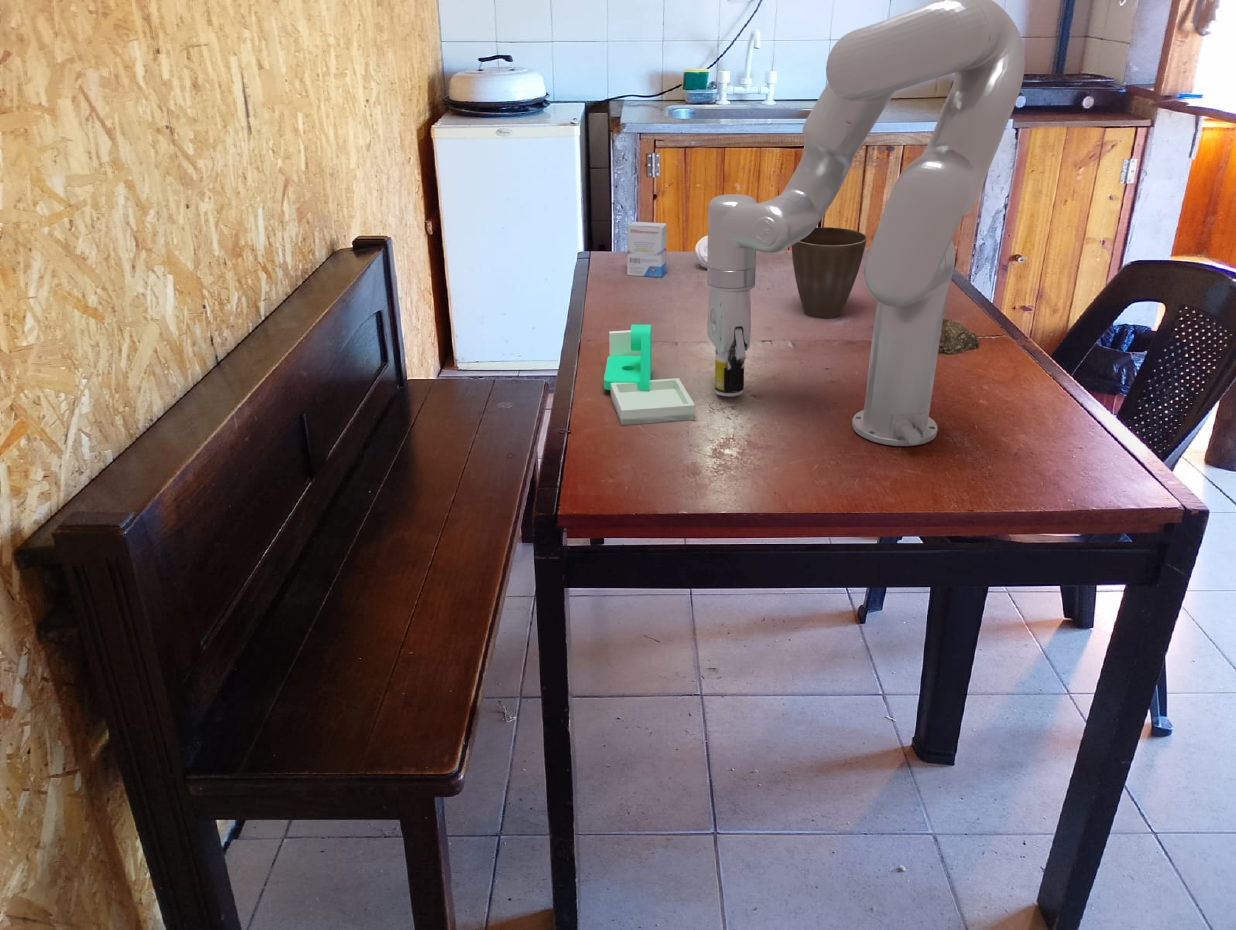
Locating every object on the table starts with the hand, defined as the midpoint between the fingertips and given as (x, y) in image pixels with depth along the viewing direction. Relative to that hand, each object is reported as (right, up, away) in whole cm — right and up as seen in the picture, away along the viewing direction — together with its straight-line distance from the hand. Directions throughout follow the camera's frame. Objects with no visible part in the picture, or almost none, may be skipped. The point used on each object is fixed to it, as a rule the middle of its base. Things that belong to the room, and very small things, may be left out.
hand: (729, 383), depth 160 cm
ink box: (-12, +31, +68) cm, 76 cm away
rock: (+42, +9, +23) cm, 49 cm away
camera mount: (-17, +1, +7) cm, 18 cm away
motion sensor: (+4, +34, +72) cm, 79 cm away
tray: (-13, -4, -3) cm, 14 cm away
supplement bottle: (0, -1, +1) cm, 2 cm away
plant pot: (+24, +18, +40) cm, 50 cm away
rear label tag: (-17, +4, +13) cm, 21 cm away
